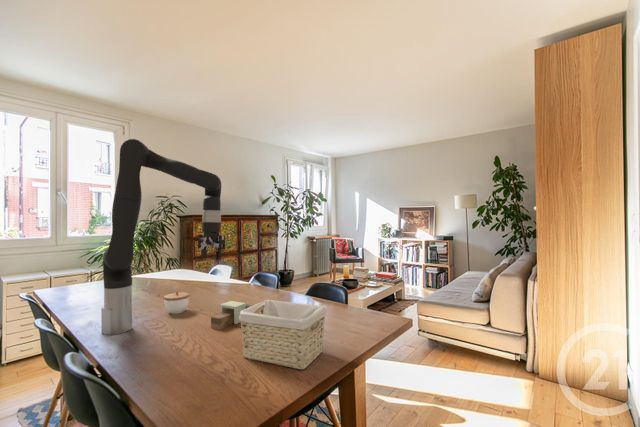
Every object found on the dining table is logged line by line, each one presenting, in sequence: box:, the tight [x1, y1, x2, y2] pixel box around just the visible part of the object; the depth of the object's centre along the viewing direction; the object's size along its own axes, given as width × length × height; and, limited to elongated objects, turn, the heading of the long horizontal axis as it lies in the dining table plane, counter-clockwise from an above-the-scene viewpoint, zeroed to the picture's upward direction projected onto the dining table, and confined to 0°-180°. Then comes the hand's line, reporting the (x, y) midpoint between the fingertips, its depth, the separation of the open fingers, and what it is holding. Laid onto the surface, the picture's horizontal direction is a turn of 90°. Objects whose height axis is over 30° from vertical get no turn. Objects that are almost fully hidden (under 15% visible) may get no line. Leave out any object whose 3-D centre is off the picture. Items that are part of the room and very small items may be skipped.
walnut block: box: [210, 309, 235, 331], centre depth 125 cm, size 12×4×4 cm, turn 151°
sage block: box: [219, 300, 247, 325], centre depth 128 cm, size 6×8×7 cm
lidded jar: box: [163, 291, 190, 315], centre depth 142 cm, size 11×11×9 cm
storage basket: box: [239, 299, 327, 370], centre depth 97 cm, size 24×16×15 cm
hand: (211, 259), depth 129 cm, fingers open, 8 cm apart
